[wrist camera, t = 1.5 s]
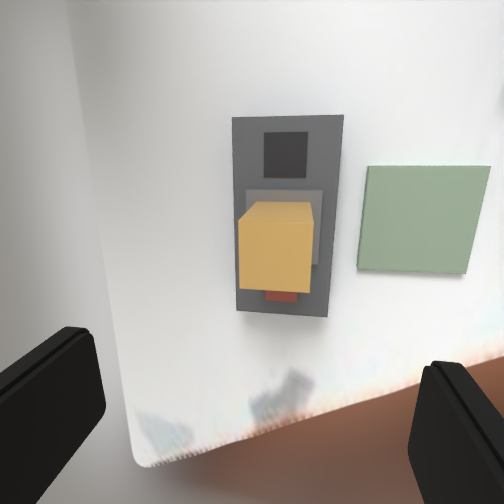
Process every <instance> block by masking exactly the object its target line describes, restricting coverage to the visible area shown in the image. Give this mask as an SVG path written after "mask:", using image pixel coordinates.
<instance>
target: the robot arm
mask: <svg viewBox="0 0 504 504" xmlns="http://www.w3.org/2000/svg"><path fill="white" fill-rule="evenodd" d="M105 409H106V401H105V395H104V391H103V385H102V380H101V375H100V369H99V364H98V359H97V353H96V348H95V343H94V338H93V336H92V334H90V333H89V331H88V330H87V329H86V328H79V327H64V328H62V329H61V330H60V331H58V332H57V333H55V334H54V335H53V336H51V337H50V338H48V339H47V340H45V341H44V342H43V343H41V344H40V345H38V346H37V347H36V348H34V349H33V350H31V351H30V352H29V353H27V354H26V355H25V356H23V357H22V358H20V359H19V360H17V361H16V362H15V363H14V364H12V365H11V366H9V367H8V368H6V369H5V370H4V371H2V372H1V373H0V504H36V502H37V501H38V500H39V499H40V497H41V496H42V495H43V494H44V492H45V491H46V490H47V488H48V487H49V486H50V485H51V483H52V482H53V481H54V479H55V478H56V477H57V475H58V474H59V473H60V471H61V470H62V469H63V467H64V466H65V465H66V464H67V462H68V461H69V460H70V458H71V457H72V456H73V455H74V453H75V452H76V451H77V449H78V448H79V447H80V446H81V444H82V443H83V442H84V440H85V439H86V438H87V436H88V435H89V434H90V433H91V431H92V430H93V429H94V427H95V426H96V425H97V423H98V422H99V421H100V419H101V418H102V417H103V415H104V412H105ZM408 455H409V460H410V464H411V466H412V469H413V472H414V475H415V478H416V480H417V484H418V486H419V489H420V492H421V495H422V498H423V501H424V503H425V504H504V418H503V417H502V416H501V415H500V413H499V412H498V411H497V409H496V408H495V407H494V405H493V404H492V403H491V401H490V400H489V399H488V398H487V396H486V395H485V394H484V392H483V391H482V390H481V388H480V387H479V386H478V385H477V383H476V382H475V381H474V379H473V378H472V377H471V375H470V374H469V373H468V372H467V370H466V369H465V368H464V366H463V365H462V364H460V363H455V362H445V361H433V362H432V363H431V366H425V367H424V369H423V373H422V378H421V383H420V388H419V393H418V398H417V403H416V408H415V413H414V417H413V422H412V428H411V432H410V437H409V442H408Z"/></svg>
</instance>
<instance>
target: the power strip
mask: <svg viewBox="0 0 504 504" xmlns="http://www.w3.org/2000/svg"><path fill="white" fill-rule="evenodd" d="M343 121H344V115H311V116H271V117H232V146H233V188H234V229H235V270H236V311H249V312H262V313H276V314H289V315H303V316H316V317H327V315H328V303H329V291H330V278H331V266H332V254H333V242H334V230H335V218H336V206H337V193H338V181H339V169H340V157H341V145H342V133H343ZM247 189H309V190H323V195H322V210H321V225H320V240H319V255H318V264H311V278H310V293H304V292H288V291H272V290H256V289H241V288H240V287H239V237H238V220H239V219H240V218H241V217H242V216H243V215H244V214H245V213H246V190H247Z"/></svg>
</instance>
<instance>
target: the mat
mask: <svg viewBox="0 0 504 504" xmlns="http://www.w3.org/2000/svg"><path fill="white" fill-rule="evenodd" d="M490 168H491V166H368V167H367V176H366V185H365V194H364V203H363V212H362V221H361V230H360V239H359V248H358V257H357V268H358V269H375V270H396V271H416V272H436V273H456V274H466V271H467V267H468V262H469V258H470V254H471V250H472V245H473V241H474V237H475V232H476V228H477V224H478V220H479V215H480V211H481V207H482V202H483V198H484V194H485V190H486V185H487V181H488V177H489V172H490Z"/></svg>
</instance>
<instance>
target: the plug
mask: <svg viewBox="0 0 504 504" xmlns="http://www.w3.org/2000/svg"><path fill="white" fill-rule="evenodd" d="M322 195H323V190H309V189H247V190H246V213H245V214H244V215H243V216H242V217H241V218H240V219H239V220H238V237H239V287H240V288H241V289H256V290H272V291H288V292H304V293H310V278H311V264H318V255H319V240H320V225H321V210H322Z"/></svg>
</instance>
